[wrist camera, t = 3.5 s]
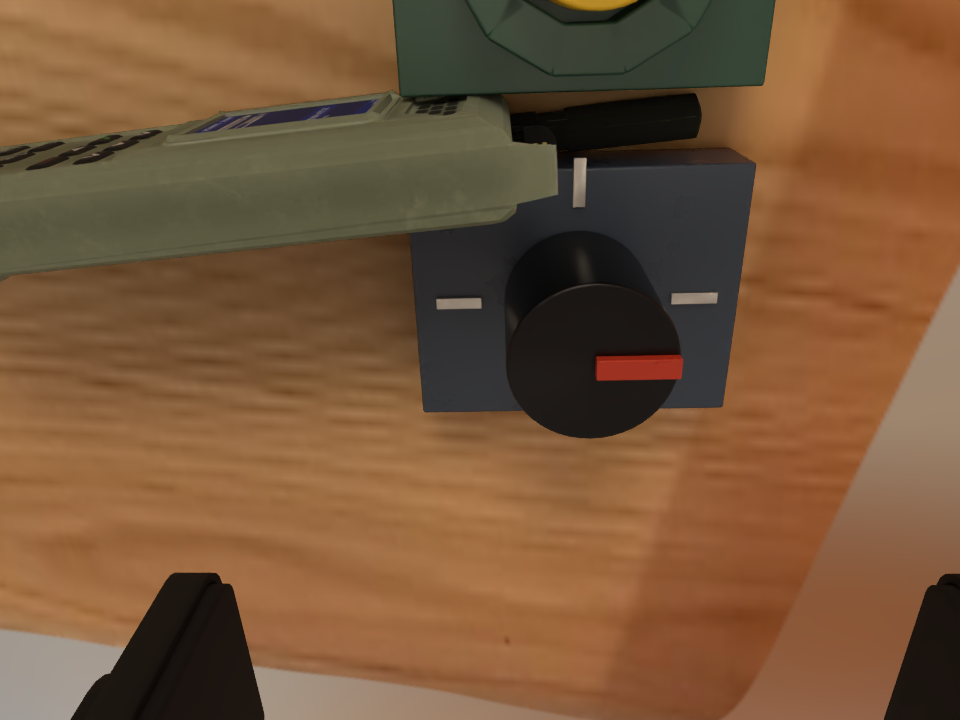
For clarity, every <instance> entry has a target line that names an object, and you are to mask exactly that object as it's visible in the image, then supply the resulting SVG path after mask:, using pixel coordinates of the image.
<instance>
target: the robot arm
mask: <svg viewBox="0 0 960 720" xmlns="http://www.w3.org/2000/svg"><path fill="white" fill-rule="evenodd" d="M71 720H264V711H263V707H262V703H261V699H260V695H259V691H258V687H257V683H256V678H255V674H254V670H253V666H252V662H251V658H250V654H249V650H248V646H247V642H246V638H245V634H244V630H243V626H242V622H241V618H240V614H239V610H238V606H237V602H236V598H235V594H234V590H233V588H232V586H231V585H230V584H222V581H221V579H220V576H219V575H218V574H217V573H173V574H172V575H170V576H169V578H168V579H167V580H166V581H165V583H164V585H163V586H162V588H161V590H160V591H159V593H158V595H157V596H156V598H155V600H154V601H153V603H152V605H151V606H150V608H149V610H148V611H147V613H146V615H145V616H144V618H143V620H142V621H141V623H140V625H139V626H138V628H137V630H136V631H135V633H134V635H133V636H132V638H131V640H130V641H129V643H128V645H127V646H126V648H125V650H124V651H123V653H122V655H121V656H120V658H119V660H118V661H117V663H116V665H115V666H114V668H113V670H112V671H111V673H110V674H105V675H104V676H102V677H101V678H100V679H98V680H97V681H96V682H95V683H94V684H93V686H92V687H91V688H90V690H89V691H88V692H87V694H86V695H85V697H84V699H83V701H82V702H81V704H80V705H79V707H78V708H77V710H76V712H75V713H74V715H73V716H72V718H71ZM884 720H960V574H945V575H943V576H942V577H940V579H939V581H938V583H937V585H931V586H930V587H928V589H927V591H926V592H925V596H924V599H923V602H922V605H921V608H920V611H919V614H918V617H917V620H916V623H915V626H914V629H913V632H912V635H911V638H910V641H909V644H908V647H907V650H906V653H905V656H904V660H903V662H902V666H901V669H900V672H899V675H898V678H897V681H896V684H895V687H894V690H893V693H892V696H891V699H890V702H889V705H888V708H887V711H886V714H885V717H884Z"/></svg>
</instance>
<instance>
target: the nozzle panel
mask: <svg viewBox="0 0 960 720" xmlns="http://www.w3.org/2000/svg"><path fill="white" fill-rule="evenodd" d="M557 169H558V195H554V196H550V197H545V198H541V199H537V200H532V201H528V202H523V203H519V204H517V208H516V213H515V214H513V215H512V216H511V217H510V218H508V219H507V220H506V221H504V222H500V223H495V224H490V225H480V226H471V227H461V228H452V229H443V230H433V231H424V232H414V233H409V235H410V248H411V261H412V273H413V286H414V299H415V311H416V324H417V337H418V350H419V362H420V375H421V388H422V401H423V410H424V412H477V411H524V410H523V409H522V408H521V407H520V405H519V404H518V403H517V401H516V399H515V398H514V396H513V394H512V391H511V389H510V386H509V383H508V379H507V372H506V348H505V307H504V300H505V290H506V285H507V282H508V279H509V276H510V274H511V272H512V270H513V268H514V267H515V265H516V264H517V262H518V261H519V260H520V259H521V258H522V256H523V255H524V254H525V253H526V252H527V251H529V250H530V249H531V248H532V247H533V246H535V245H536V244H538V243H539V242H541V241H543V240H545V239H547V238H549V237H552V236H554V235H557V234H561V233H566V232H573V231H588V232H594V233H599V234H602V235H605V236H608V237H610V238H612V239H614V240H616V241H618V242H619V243H621V244H622V245H624V246H625V247H626V248H627V249H628V250H630V251H631V253H632V254H633V255H634V256H635V257H636V258H637V260H638V262H639V263H640V265H641V266H642V268H643V270H644V272H645V274H646V275H647V277H648V279H649V281H650V282H651V284H652V286H653V288H654V290H655V291H656V293H657V295H658V297H659V299H660V300H661V302H662V304H663V306H664V308H665V309H666V311H667V313H668V315H669V316H670V318H671V320H672V322H673V324H674V326H675V328H676V330H677V333H678V337H679V340H680V346H681V356H682V358H683V368H682V378H681V379H677V381H676V384H675V386H674V388H673V390H672V392H671V394H670V395H669V397H668V398H667V400H666V401H665V402H664V404H663V405H662V406H661V407H660V408H716V407H722V406H723V401H724V394H725V387H726V379H727V372H728V365H729V358H730V351H731V343H732V336H733V329H734V322H735V315H736V307H737V300H738V293H739V286H740V278H741V271H742V264H743V257H744V250H745V242H746V235H747V228H748V221H749V214H750V206H751V199H752V192H753V185H754V178H755V170H756V163H754V162H753V161H751V160H749V159H748V158H746V157H744V156H743V155H741V154H739V153H738V152H736V151H734V150H733V149H731V148H706V149H671V150H637V151H602V152H568V153H557Z"/></svg>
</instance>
